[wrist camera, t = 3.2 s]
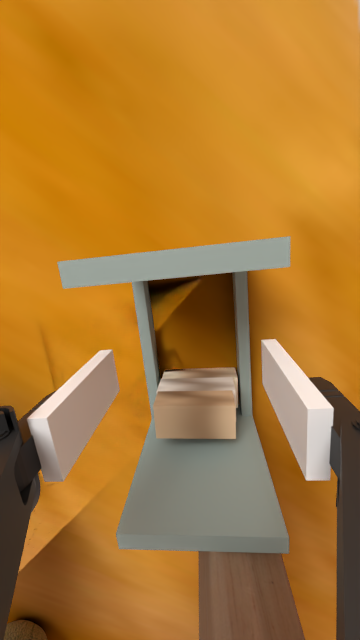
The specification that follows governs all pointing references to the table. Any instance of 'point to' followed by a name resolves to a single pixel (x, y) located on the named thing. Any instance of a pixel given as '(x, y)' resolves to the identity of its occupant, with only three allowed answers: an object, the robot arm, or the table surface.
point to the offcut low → (203, 375)
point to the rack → (196, 454)
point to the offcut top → (195, 414)
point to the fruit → (24, 631)
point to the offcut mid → (198, 384)
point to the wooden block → (246, 598)
